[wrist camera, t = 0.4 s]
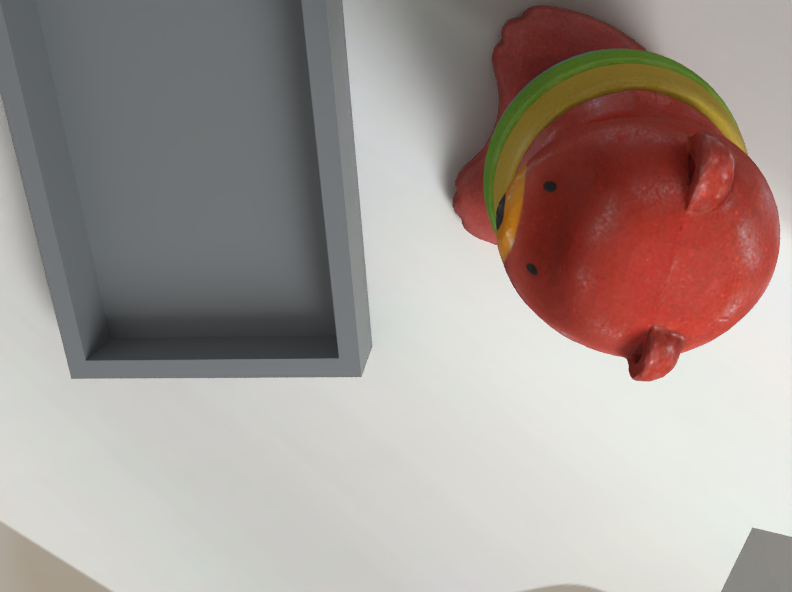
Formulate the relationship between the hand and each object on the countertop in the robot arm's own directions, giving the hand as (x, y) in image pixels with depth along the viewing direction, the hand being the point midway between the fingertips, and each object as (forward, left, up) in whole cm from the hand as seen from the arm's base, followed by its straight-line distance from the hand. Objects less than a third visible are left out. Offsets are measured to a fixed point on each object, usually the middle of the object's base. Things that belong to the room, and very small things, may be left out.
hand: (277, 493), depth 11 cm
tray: (-1, -11, -27) cm, 29 cm away
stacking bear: (0, +7, -27) cm, 28 cm away
